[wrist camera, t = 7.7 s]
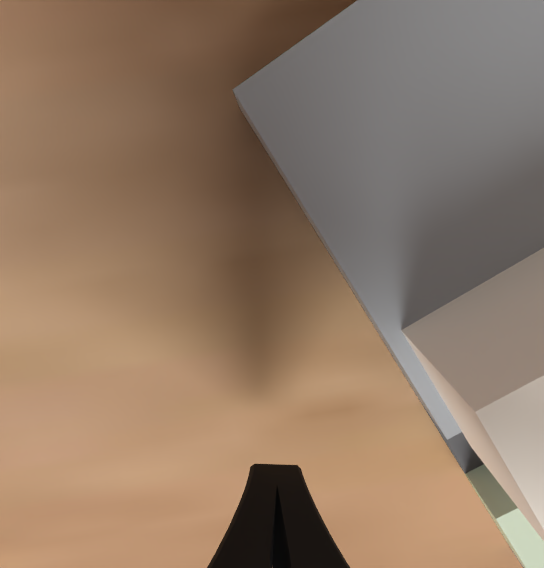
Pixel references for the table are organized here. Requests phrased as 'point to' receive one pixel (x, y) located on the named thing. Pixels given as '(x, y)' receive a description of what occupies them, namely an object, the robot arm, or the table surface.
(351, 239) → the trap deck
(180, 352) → the table surface
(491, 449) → the block
